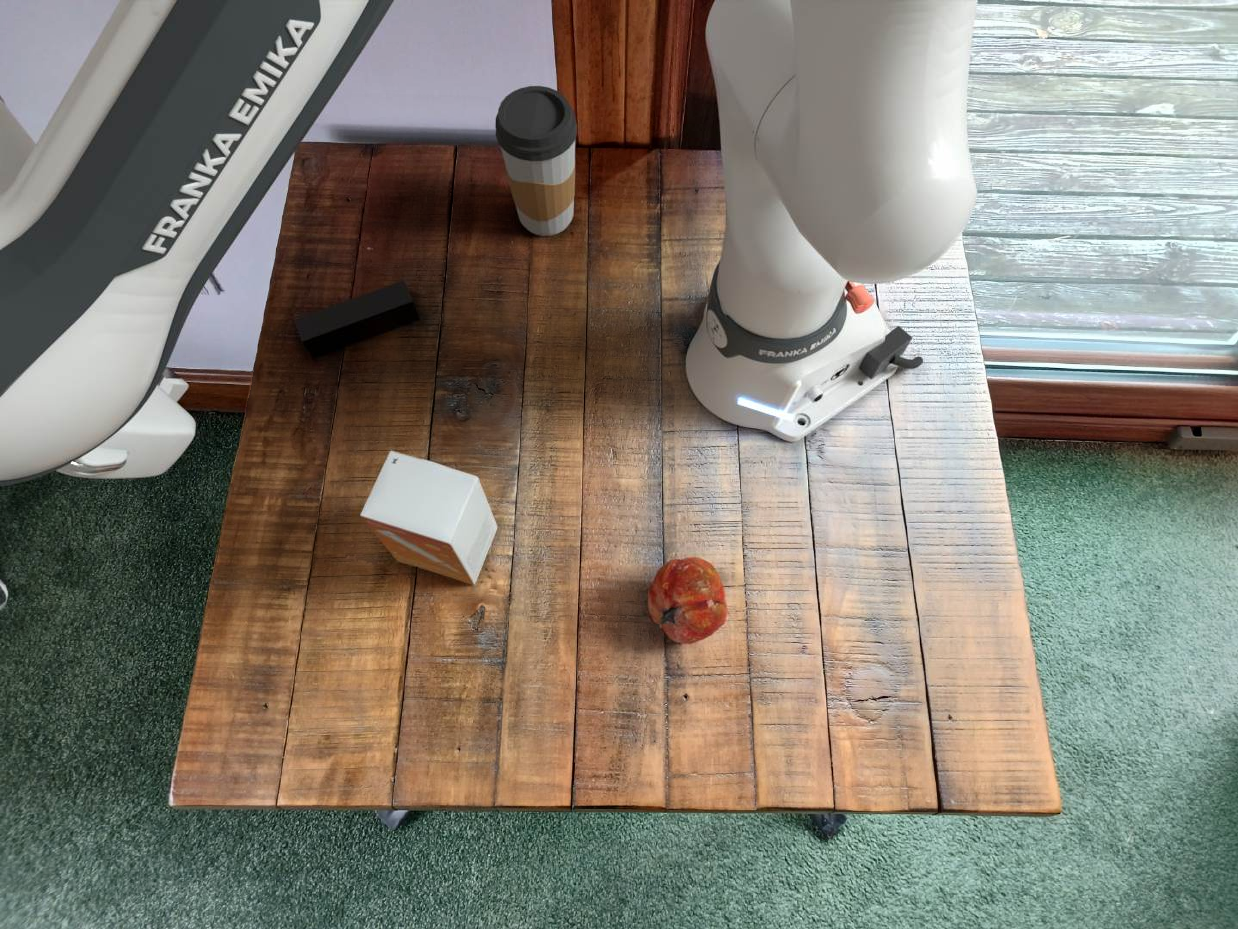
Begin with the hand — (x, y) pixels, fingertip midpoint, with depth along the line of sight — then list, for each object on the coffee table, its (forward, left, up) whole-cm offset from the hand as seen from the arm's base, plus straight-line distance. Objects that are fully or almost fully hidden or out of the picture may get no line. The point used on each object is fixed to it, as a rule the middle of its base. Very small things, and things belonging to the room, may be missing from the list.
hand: (117, 334), depth 49 cm
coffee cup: (-36, -25, -33) cm, 54 cm away
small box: (-12, +8, -33) cm, 36 cm away
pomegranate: (-30, +23, -33) cm, 50 cm away
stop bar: (-12, -19, -32) cm, 39 cm away
